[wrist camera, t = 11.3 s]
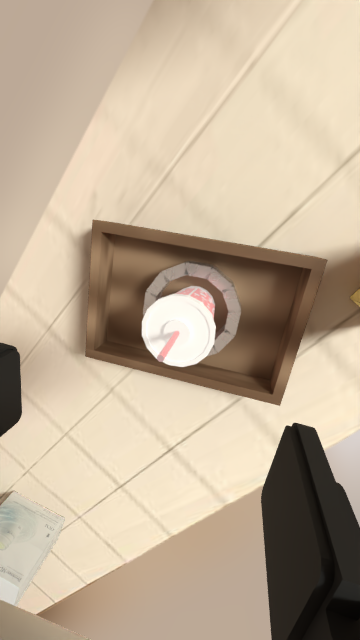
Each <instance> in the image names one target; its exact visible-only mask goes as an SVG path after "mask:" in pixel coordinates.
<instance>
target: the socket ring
mask: <svg viewBox="0 0 360 640" xmlns="http://www.w3.org/2000/svg"><path fill="white" fill-rule="evenodd" d="M185 275H189V276H194V277H199V278H204V279H207V280H208V281H209V282H211V283H212V284H213V285H214V286H215V287H216V288H218V289H219V290H220V291H221V292H222V293H223V296H224V299H225V302H226V305H227V308H228V315H227V319H226V323H225V324H224V325H223V326H222V328H221V329H220V330H219V331H218V332H217V333H216V334H215V341H214V345H213V347H212V348H211V350H210V352H209V354H208V355H207V356H210V355H213V354H217V352H218V353H219V352H220V351H221V350H222V349H223V348H224V347H225V346H226V345H227V344H228V343H229V342H230V341H231V340H232V339H233V338H234V337H235V335H236V331H237V327H238V323H239V319H240V315H241V303H240V300H239V297H238V294H237V291H236V288H235V285H234V283H233V281H232V280H231V279H230V278H229V277H228V276H226V275H225V274H224V273H223V272H222V271H221V270H219V269H218V268H217V267H216V266H214V267H213V265H211V264H206V263H201V262H195V261H187V262H184V263H182V264H179V265H176V266H174V267H171V268H168V269H166V270H163V271H162V272H160V273H159V275H158V276H157V277H156V278H155V280H154V281H153V282H152V284H151V285H150V286H149V287H148V289H147V290H146V292H145V300H144V308H143V315H145V313H146V311H147V309H148V308H149V307H150V306H151V305H152V304H154V303H155V302H156V301H157V300H158V299H160V298H162V292H163V291H164V290H165V288H166V287H167V286H168V285H169V283H170V282H171V281H172V280H174V279H177V278H180V277H182V276H185ZM143 318H144V316H143Z"/></svg>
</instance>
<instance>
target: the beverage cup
mask: <svg viewBox="0 0 360 640" xmlns="http://www.w3.org/2000/svg"><path fill="white" fill-rule="evenodd" d="M214 310H215V303H214V300H213V297H212V295H211V294H210V293H209V292H208V291H207V290H205V289H203V288H201V287H198V286H190V287H187V288H184V289H182V290H180V291H178V292H177V293H175V294H171V295H168V296H165V297H162V298H160V299H158V300H157V301H156V302H155V303H154V304H152V305H151V306H150V307H149V308H148V309H147V311H146V313H145V315H144V318H143V320H142V337H143V340H144V342H145V345H146V347H147V349H148V350H149V351H150V352H151V353H152V354H153V355H154V356H155V358H156V359H157V360H158V361H159V362H164V363H166V364H168V365H171V366H178V367H185V366H190V365H194V364H197V363H198V362H200V361H201V360H202V359H204V358H205V357H206V356H207V355H208V354H209V352H210V350H211V348H212V347H213V345H214V341H215V330H216V326H215V323H214Z"/></svg>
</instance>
